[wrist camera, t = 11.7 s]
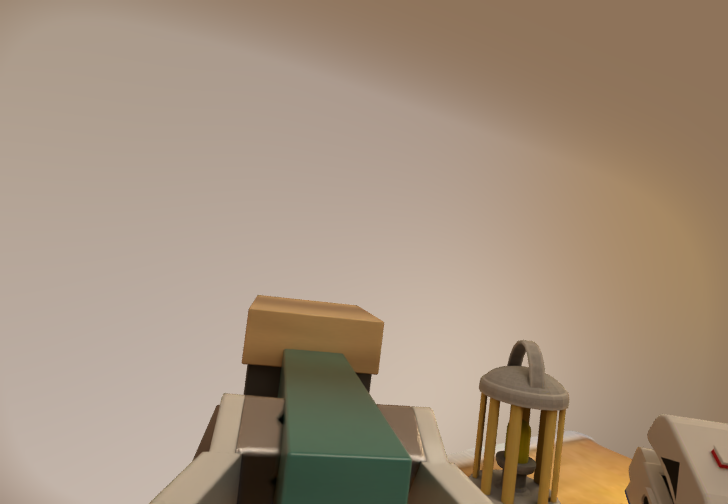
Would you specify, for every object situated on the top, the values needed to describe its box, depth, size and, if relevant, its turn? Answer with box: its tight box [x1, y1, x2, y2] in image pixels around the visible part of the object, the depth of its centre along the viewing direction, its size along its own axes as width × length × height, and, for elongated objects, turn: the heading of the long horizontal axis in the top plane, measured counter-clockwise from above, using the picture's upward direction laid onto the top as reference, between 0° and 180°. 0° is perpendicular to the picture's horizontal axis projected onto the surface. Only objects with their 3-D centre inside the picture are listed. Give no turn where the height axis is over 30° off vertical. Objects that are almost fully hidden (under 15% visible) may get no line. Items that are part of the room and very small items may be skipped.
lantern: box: [469, 340, 569, 504], centre depth 71 cm, size 14×14×25 cm
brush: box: [242, 295, 412, 504], centre depth 15 cm, size 15×5×4 cm, turn 10°
